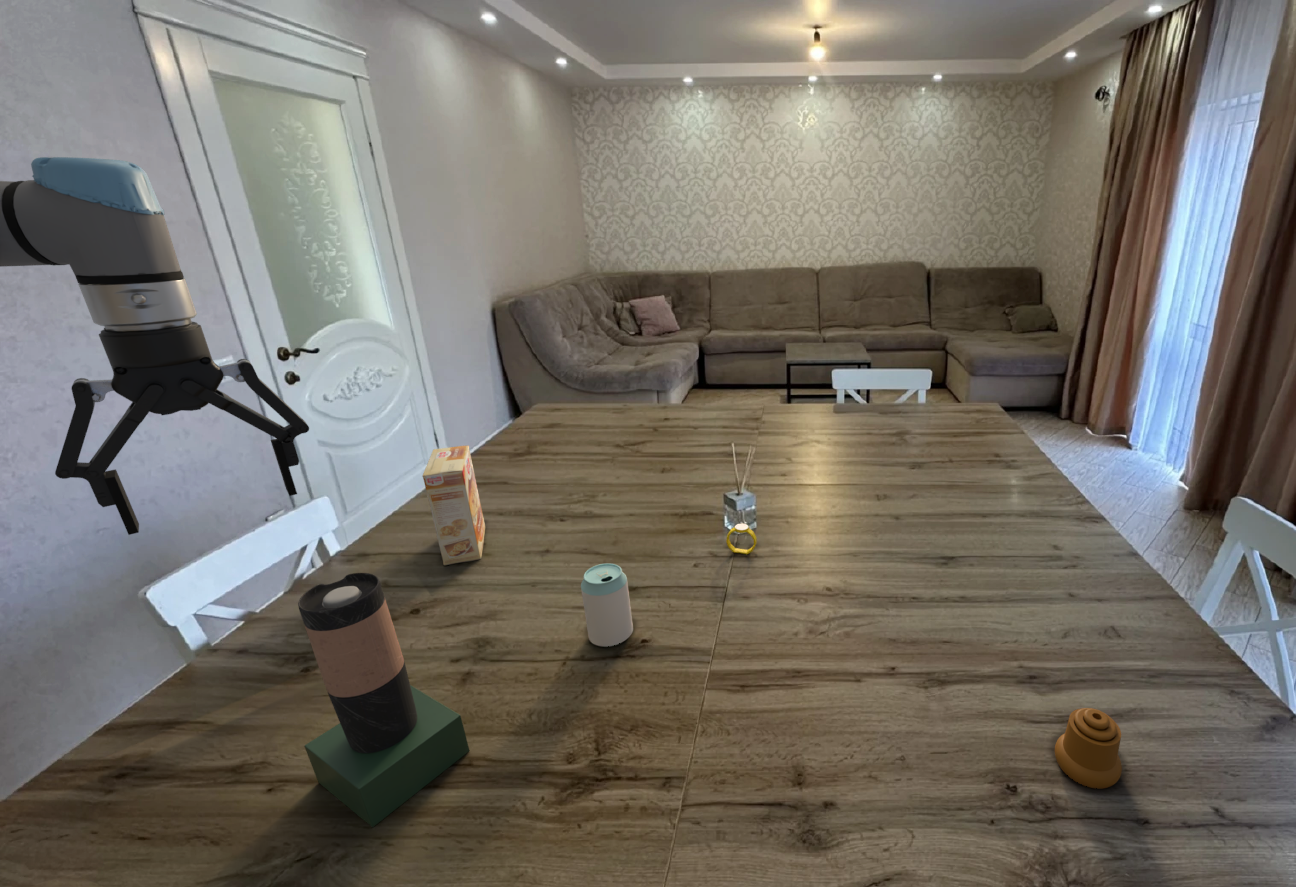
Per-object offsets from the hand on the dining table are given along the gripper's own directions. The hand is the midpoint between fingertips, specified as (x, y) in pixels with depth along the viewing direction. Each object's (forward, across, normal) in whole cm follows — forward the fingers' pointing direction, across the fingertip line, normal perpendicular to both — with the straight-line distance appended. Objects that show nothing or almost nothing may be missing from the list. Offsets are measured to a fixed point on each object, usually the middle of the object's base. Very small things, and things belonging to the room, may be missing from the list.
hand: (218, 509), depth 70 cm
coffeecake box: (+33, +33, +36) cm, 59 cm away
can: (+33, +40, -12) cm, 53 cm away
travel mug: (+27, +8, -16) cm, 32 cm away
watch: (+33, +72, -8) cm, 79 cm away
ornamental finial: (+32, +69, -77) cm, 108 cm away
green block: (+33, +8, -16) cm, 37 cm away
